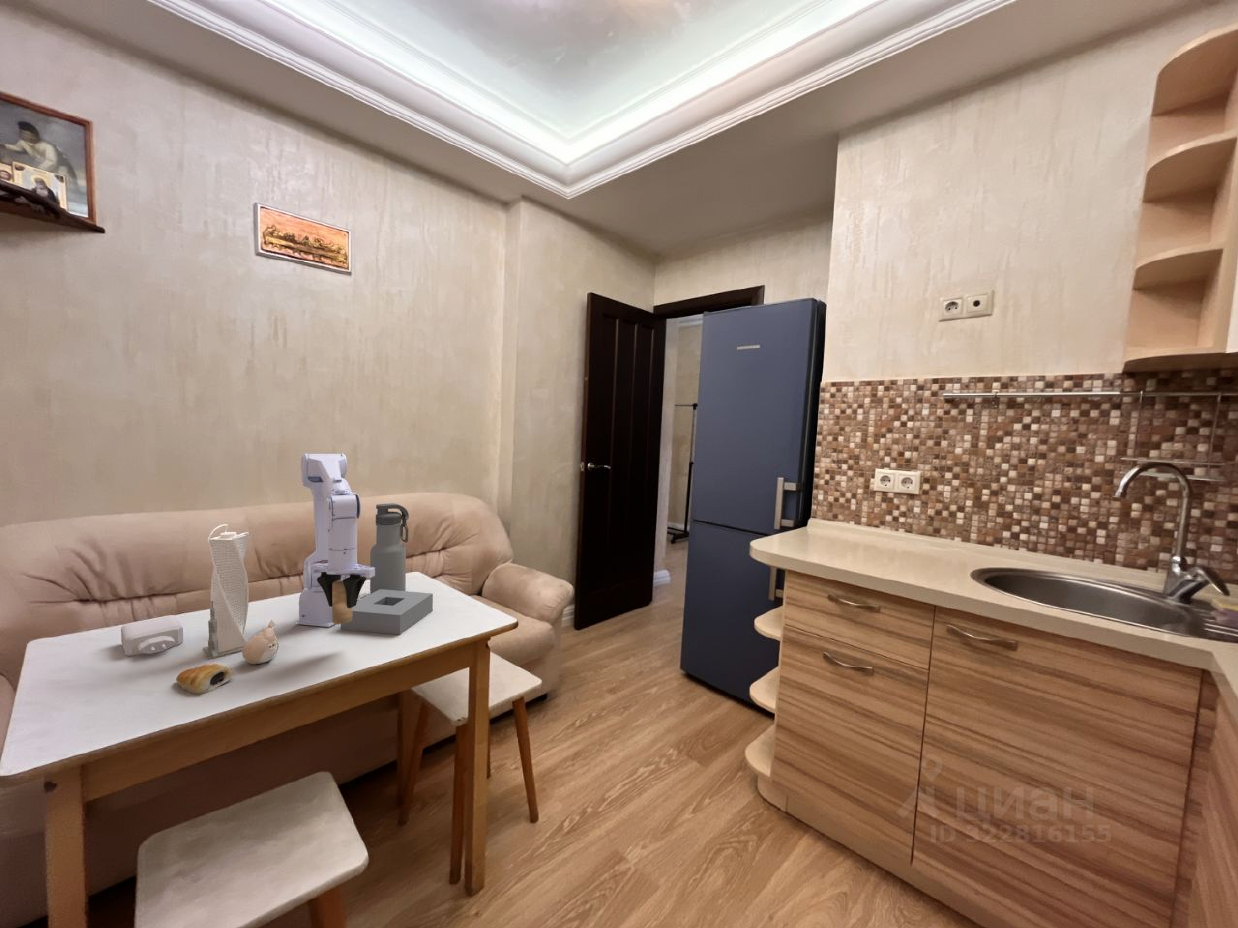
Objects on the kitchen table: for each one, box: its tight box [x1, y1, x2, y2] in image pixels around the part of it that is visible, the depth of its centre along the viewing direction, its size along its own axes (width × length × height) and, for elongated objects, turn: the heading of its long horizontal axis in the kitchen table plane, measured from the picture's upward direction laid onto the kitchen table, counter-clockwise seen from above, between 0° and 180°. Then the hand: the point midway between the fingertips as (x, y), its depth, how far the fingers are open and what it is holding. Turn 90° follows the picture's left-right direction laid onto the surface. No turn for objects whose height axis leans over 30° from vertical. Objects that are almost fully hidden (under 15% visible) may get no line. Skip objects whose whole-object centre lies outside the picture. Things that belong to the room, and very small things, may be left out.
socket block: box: [340, 589, 434, 636], centre depth 126 cm, size 16×16×5 cm
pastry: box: [175, 663, 234, 695], centre depth 93 cm, size 9×7×4 cm
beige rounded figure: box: [241, 619, 280, 665], centre depth 102 cm, size 7×6×8 cm
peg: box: [332, 579, 353, 625], centre depth 108 cm, size 4×4×9 cm
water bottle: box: [369, 503, 410, 595], centre depth 143 cm, size 10×10×28 cm
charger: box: [120, 614, 184, 657], centre depth 106 cm, size 5×9×15 cm
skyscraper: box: [202, 523, 250, 661], centre depth 106 cm, size 8×8×28 cm
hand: (342, 605), depth 108 cm, fingers closed on peg, 4 cm apart
